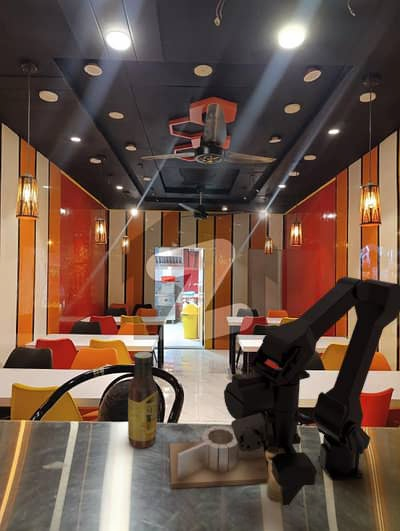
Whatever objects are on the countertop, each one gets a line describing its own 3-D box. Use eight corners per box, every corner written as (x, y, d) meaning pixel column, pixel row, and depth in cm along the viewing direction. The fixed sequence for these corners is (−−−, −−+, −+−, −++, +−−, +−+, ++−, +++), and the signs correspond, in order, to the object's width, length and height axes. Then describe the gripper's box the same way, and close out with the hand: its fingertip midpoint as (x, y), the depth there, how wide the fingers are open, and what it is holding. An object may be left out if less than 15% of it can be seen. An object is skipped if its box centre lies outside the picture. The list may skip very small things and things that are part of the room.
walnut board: (260, 443, 81) (260, 439, 80) (276, 482, 69) (277, 477, 69) (169, 447, 78) (169, 443, 78) (171, 488, 67) (171, 483, 67)
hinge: (262, 445, 78) (263, 424, 78) (275, 475, 69) (276, 451, 69) (176, 449, 76) (176, 427, 76) (177, 480, 67) (178, 455, 67)
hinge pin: (284, 485, 68) (286, 445, 67) (293, 504, 64) (295, 462, 63) (260, 486, 68) (262, 446, 67) (267, 505, 63) (269, 463, 62)
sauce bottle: (151, 451, 77) (151, 362, 74) (123, 447, 78) (122, 359, 76) (160, 433, 83) (161, 351, 81) (134, 430, 85) (134, 348, 82)
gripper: (226, 381, 72) (224, 453, 74) (249, 437, 53) (245, 532, 55) (281, 379, 73) (277, 451, 75) (321, 434, 54) (315, 527, 57)
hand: (277, 484), depth 65 cm, fingers open, 9 cm apart
